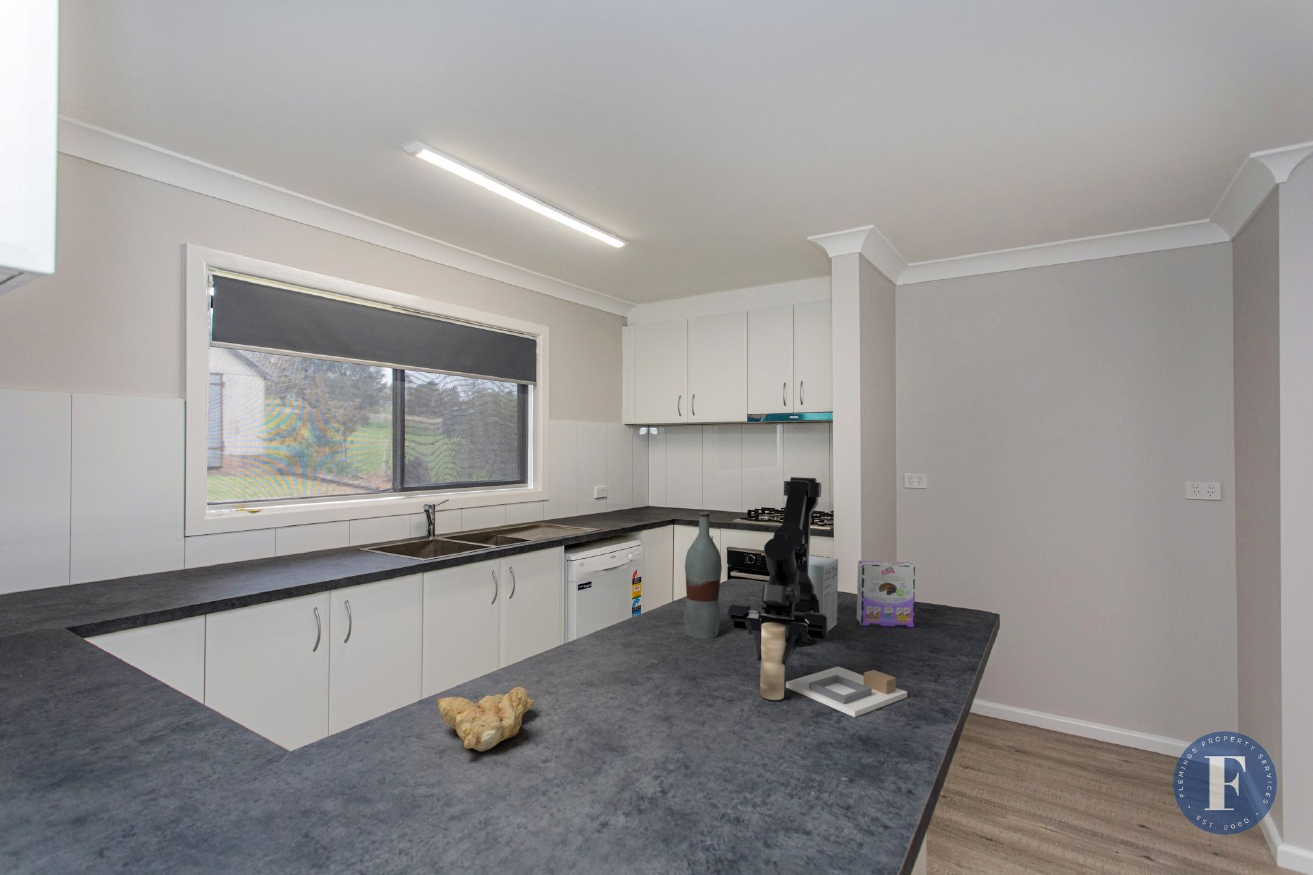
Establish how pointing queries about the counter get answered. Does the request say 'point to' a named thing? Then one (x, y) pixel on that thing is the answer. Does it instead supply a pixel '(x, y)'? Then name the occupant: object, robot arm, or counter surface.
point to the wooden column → (772, 661)
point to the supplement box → (825, 585)
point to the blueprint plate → (849, 690)
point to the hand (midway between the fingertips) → (771, 662)
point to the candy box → (885, 593)
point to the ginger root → (486, 717)
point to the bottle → (702, 584)
